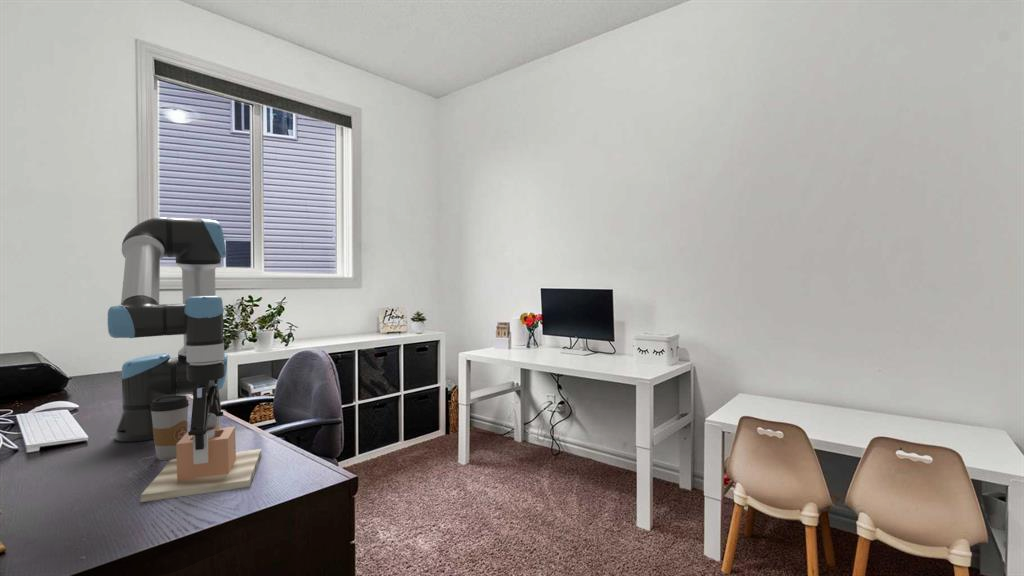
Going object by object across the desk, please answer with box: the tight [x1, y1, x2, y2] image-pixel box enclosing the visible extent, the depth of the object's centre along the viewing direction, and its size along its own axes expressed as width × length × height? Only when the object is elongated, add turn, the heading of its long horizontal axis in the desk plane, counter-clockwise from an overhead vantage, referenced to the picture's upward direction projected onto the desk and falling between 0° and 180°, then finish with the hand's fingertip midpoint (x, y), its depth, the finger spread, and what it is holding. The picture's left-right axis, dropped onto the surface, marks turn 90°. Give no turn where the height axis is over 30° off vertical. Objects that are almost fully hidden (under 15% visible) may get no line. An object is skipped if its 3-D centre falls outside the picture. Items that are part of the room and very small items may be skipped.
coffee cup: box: [150, 395, 190, 461], centre depth 130 cm, size 8×8×15 cm
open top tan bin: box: [176, 426, 237, 480], centre depth 117 cm, size 10×10×8 cm
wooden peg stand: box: [140, 413, 262, 503], centre depth 117 cm, size 22×20×15 cm
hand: (207, 453), depth 117 cm, fingers open, 13 cm apart
